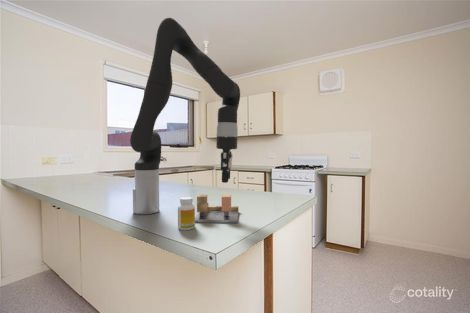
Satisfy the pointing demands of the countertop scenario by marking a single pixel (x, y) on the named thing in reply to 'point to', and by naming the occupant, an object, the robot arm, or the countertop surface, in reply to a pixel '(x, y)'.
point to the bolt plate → (217, 217)
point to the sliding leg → (226, 204)
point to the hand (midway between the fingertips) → (226, 180)
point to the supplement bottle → (186, 214)
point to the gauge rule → (203, 206)
